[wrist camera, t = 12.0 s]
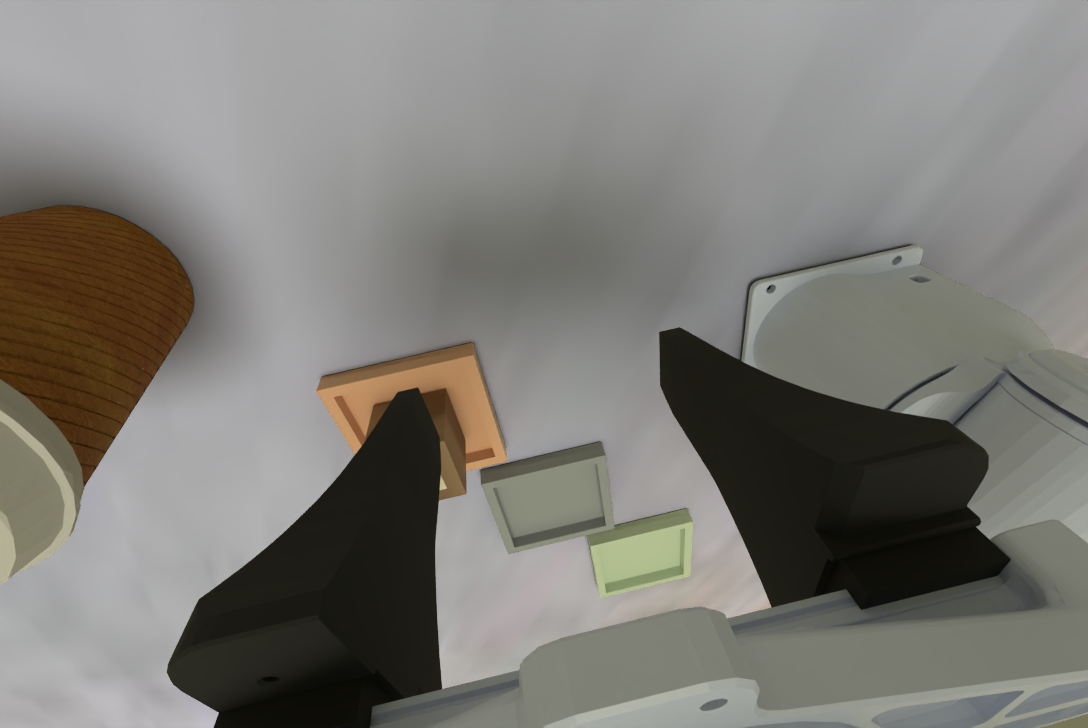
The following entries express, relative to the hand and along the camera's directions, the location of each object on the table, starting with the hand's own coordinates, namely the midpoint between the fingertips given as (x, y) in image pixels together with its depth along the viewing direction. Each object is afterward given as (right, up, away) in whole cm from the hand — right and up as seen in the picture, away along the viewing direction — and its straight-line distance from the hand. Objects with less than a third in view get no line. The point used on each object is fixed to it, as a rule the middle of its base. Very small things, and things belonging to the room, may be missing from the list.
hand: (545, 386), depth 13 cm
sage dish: (+8, -15, +24) cm, 29 cm away
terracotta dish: (-7, -2, +13) cm, 15 cm away
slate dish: (0, -9, +18) cm, 20 cm away
